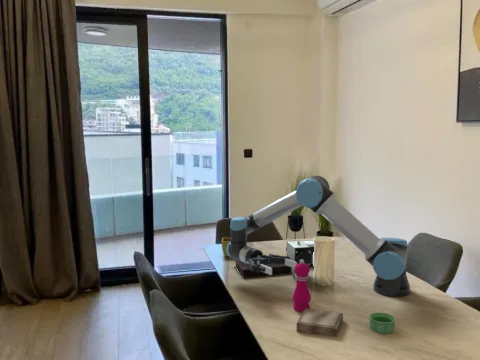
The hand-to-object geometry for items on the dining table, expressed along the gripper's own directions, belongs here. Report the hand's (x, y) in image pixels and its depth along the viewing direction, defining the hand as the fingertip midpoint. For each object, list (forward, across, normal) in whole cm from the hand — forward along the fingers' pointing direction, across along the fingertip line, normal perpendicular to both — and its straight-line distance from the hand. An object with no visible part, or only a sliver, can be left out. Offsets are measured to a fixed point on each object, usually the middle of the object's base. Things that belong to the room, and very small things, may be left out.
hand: (284, 268), depth 190 cm
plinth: (+26, +6, -14) cm, 30 cm away
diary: (-37, -19, -15) cm, 44 cm away
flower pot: (-68, -22, -15) cm, 73 cm away
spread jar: (-27, -45, -14) cm, 55 cm away
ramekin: (+41, -10, -14) cm, 44 cm away
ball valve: (-18, -26, -14) cm, 35 cm away
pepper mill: (+10, 0, -14) cm, 17 cm away
